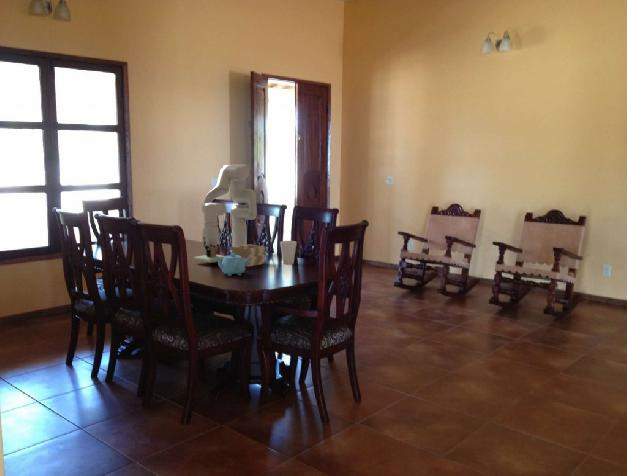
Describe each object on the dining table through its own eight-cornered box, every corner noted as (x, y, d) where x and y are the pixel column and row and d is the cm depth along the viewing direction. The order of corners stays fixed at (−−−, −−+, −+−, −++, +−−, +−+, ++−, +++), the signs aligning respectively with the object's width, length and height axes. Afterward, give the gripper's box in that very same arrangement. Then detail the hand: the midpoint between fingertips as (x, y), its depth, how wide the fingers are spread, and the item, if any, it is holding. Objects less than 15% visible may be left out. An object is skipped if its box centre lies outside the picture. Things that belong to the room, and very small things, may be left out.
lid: (213, 257, 329) (213, 245, 328) (229, 260, 320) (229, 247, 319) (193, 260, 318) (193, 247, 317) (209, 263, 309) (209, 250, 308)
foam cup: (298, 262, 325) (298, 241, 323) (291, 265, 317) (291, 243, 315) (284, 261, 329) (284, 240, 327) (277, 264, 321) (277, 242, 319)
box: (249, 260, 331) (249, 244, 330) (265, 263, 323) (265, 246, 321) (232, 263, 321) (232, 246, 320) (248, 266, 312) (248, 249, 311)
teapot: (236, 278, 280) (236, 256, 278) (214, 275, 285) (214, 254, 284) (251, 273, 294) (251, 252, 292) (230, 270, 299) (230, 250, 298)
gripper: (217, 223, 325) (218, 253, 327) (195, 225, 312) (196, 257, 315) (226, 224, 320) (226, 255, 322) (203, 226, 307) (204, 258, 310)
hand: (211, 255), depth 319 cm, fingers closed on lid, 3 cm apart
